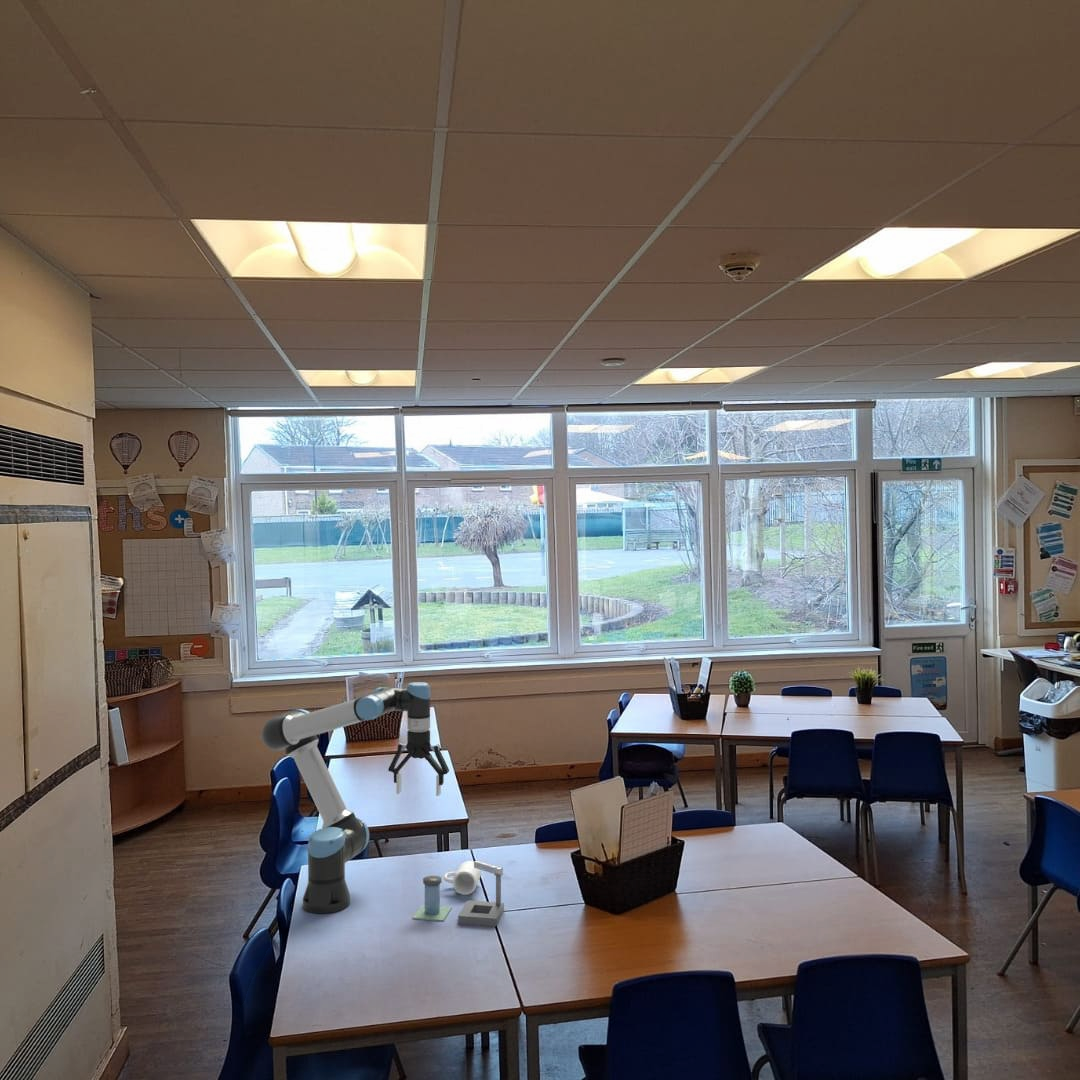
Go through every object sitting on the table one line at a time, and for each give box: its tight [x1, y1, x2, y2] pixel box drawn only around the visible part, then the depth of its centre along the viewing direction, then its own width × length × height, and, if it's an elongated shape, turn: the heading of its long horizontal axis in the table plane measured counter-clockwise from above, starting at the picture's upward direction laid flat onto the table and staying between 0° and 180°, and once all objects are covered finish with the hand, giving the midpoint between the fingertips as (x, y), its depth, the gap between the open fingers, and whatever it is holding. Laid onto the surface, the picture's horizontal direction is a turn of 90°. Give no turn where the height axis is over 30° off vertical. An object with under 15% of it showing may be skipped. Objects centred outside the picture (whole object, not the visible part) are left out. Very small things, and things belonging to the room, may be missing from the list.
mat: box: [412, 904, 453, 922], centre depth 290 cm, size 10×10×1 cm
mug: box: [443, 860, 482, 896], centre depth 310 cm, size 12×10×8 cm
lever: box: [473, 860, 504, 877], centre depth 293 cm, size 11×3×2 cm, turn 52°
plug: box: [422, 875, 442, 915], centre depth 290 cm, size 6×6×10 cm
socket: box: [457, 875, 505, 928], centre depth 287 cm, size 12×12×12 cm
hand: (418, 793), depth 302 cm, fingers open, 13 cm apart
